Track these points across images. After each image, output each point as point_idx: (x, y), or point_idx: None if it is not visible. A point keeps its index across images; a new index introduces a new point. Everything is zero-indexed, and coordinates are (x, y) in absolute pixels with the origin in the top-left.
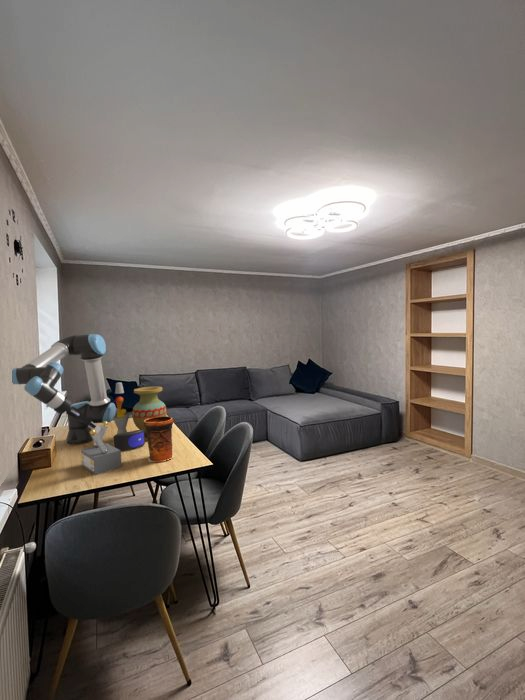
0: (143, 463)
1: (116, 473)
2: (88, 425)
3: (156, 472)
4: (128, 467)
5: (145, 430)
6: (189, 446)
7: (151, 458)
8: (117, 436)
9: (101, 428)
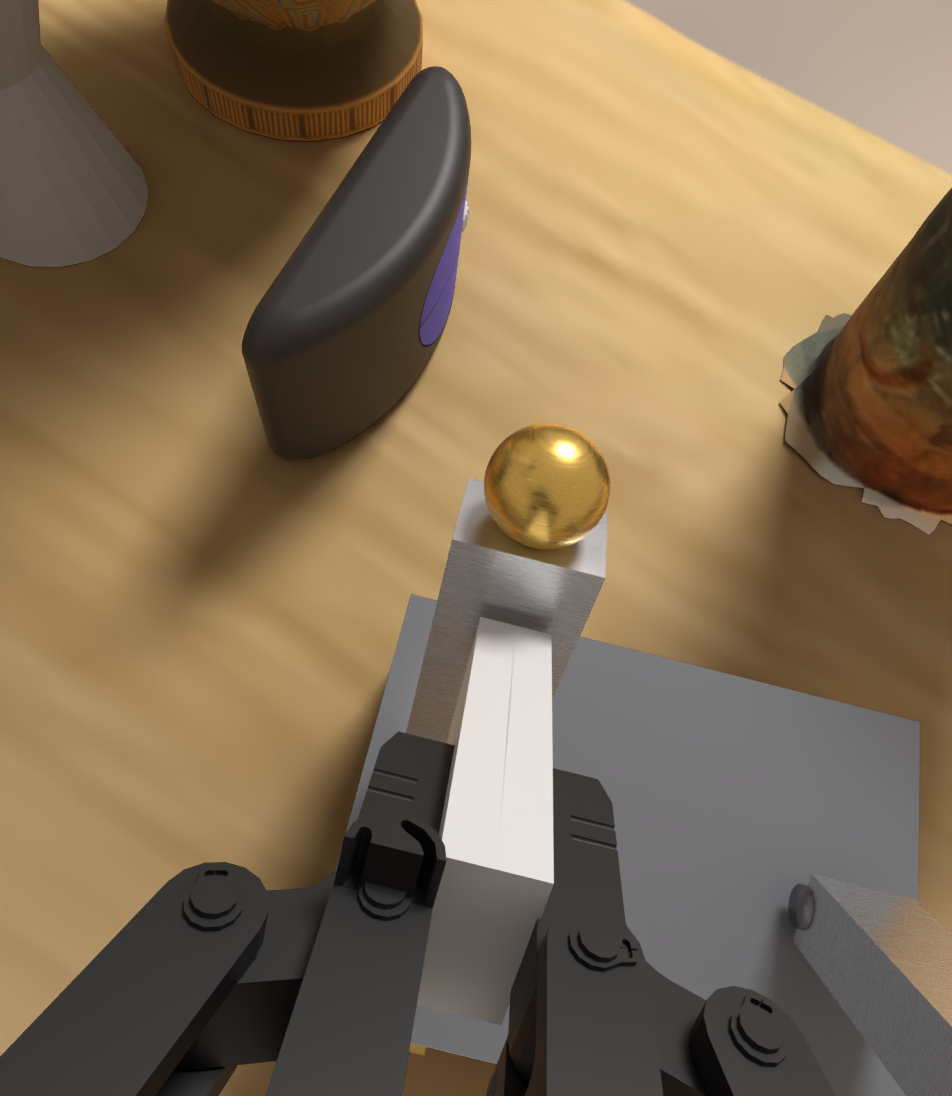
0: (903, 585)
1: (934, 913)
2: (505, 986)
3: None
4: None
5: (330, 16)
6: (862, 134)
7: (934, 499)
8: (322, 340)
9: (550, 641)
